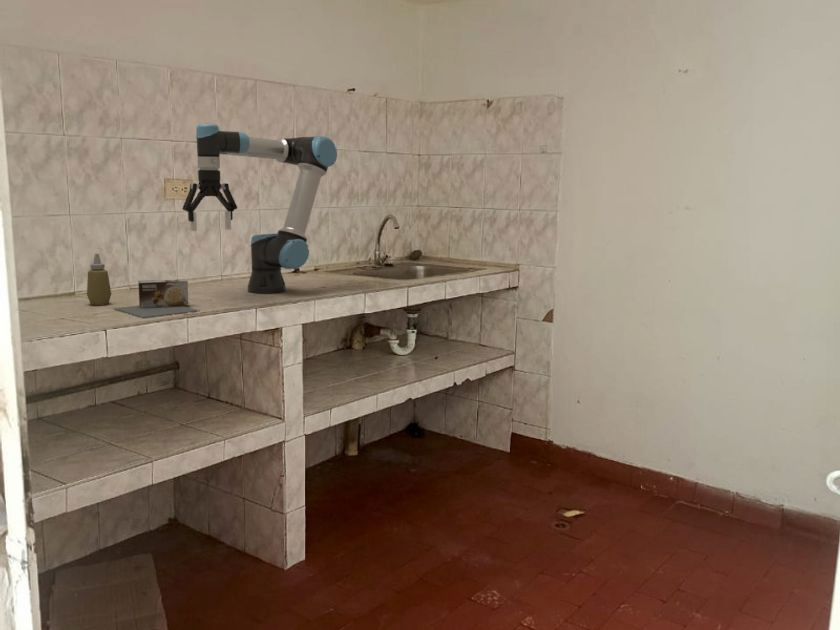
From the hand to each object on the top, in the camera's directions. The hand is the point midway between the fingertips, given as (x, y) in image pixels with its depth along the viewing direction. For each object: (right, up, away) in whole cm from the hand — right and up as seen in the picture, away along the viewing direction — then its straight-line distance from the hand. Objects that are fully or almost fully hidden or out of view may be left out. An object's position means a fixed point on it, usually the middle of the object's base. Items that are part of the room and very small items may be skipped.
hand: (211, 230), depth 265 cm
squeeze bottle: (-40, -27, -1) cm, 48 cm away
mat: (-16, -29, -11) cm, 34 cm away
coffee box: (-8, -22, -1) cm, 24 cm away
